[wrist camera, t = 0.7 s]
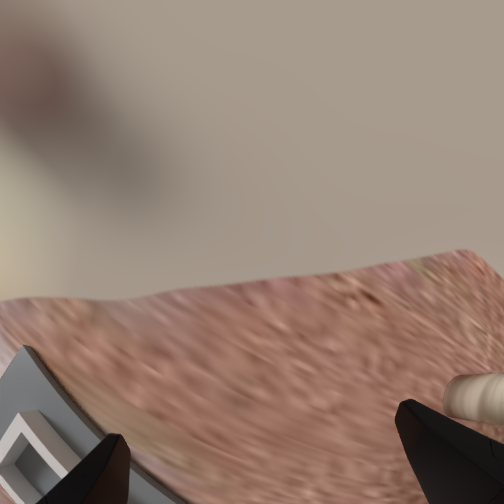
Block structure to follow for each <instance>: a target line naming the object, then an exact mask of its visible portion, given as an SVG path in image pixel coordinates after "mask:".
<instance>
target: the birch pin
mask: <svg viewBox="0 0 504 504" xmlns="http://www.w3.org/2000/svg"><path fill="white" fill-rule="evenodd" d="M443 408H444V411H445V413H446V414H447V415H448V416H449V417H451V418H457V419H463V420H469V421H476V422H483V423H491V424H500V425H504V373H494V374H475V375H459V376H456V377H455V378H453V379H452V380H451V381H450V383H449V384H448V386H447V388H446V390H445V392H444V396H443Z"/></svg>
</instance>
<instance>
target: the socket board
mask: <svg viewBox="0 0 504 504" xmlns="http://www.w3.org/2000/svg"><path fill="white" fill-rule="evenodd" d="M104 438H105V436H104V435H103V434H102V433H101V432H100V431H99V430H98V429H97V428H96V427H95V426H94V425H93V424H92V423H91V422H90V421H89V420H88V418H87V417H86V416H85V415H84V414H83V413H82V412H81V411H80V410H79V409H78V407H77V406H76V405H75V404H74V403H73V402H72V401H71V399H70V398H69V397H68V396H67V395H66V393H65V392H64V391H63V390H62V389H61V387H60V386H59V385H58V384H57V382H56V381H55V380H54V379H53V377H52V376H51V375H50V373H49V372H48V371H47V369H46V368H45V367H44V365H43V364H42V363H41V361H40V360H39V358H38V357H37V356H36V354H35V353H34V351H33V350H32V348H31V347H30V346H27V345H22V346H21V348H20V349H19V351H18V352H17V354H16V355H15V357H14V358H13V360H12V361H11V363H10V365H9V366H8V368H7V369H6V371H5V372H4V374H3V376H2V377H1V379H0V484H1V485H2V486H3V488H4V489H5V490H6V491H7V492H8V494H9V495H10V496H11V497H12V498H13V500H14V501H15V502H16V503H17V504H35V503H37V502H38V501H39V500H40V499H41V498H42V497H43V496H44V495H46V494H47V493H48V492H49V491H50V490H51V489H52V488H53V487H54V486H55V485H56V484H57V483H58V482H59V481H60V480H61V479H62V478H63V477H65V476H66V475H67V474H68V473H69V472H70V471H71V470H72V469H73V468H74V467H75V466H76V465H77V464H78V463H79V462H80V461H81V460H82V459H83V458H84V457H85V456H86V455H87V454H88V453H89V452H90V451H91V450H93V449H94V448H95V447H96V446H97V445H98V444H99V443H100V442H101V441H102V440H103V439H104ZM127 504H187V503H185V502H184V501H182V500H181V499H179V498H178V497H177V496H175V495H174V494H172V493H171V492H170V491H168V490H167V489H166V488H164V487H163V486H162V485H160V484H159V483H158V482H156V481H155V480H154V479H153V478H151V477H150V476H149V475H148V474H146V473H145V472H144V471H143V470H141V469H140V468H139V467H138V466H137V465H136V464H134V463H133V462H132V461H131V460H130V478H129V495H128V502H127Z"/></svg>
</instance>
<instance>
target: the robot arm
mask: <svg viewBox="0 0 504 504" xmlns="http://www.w3.org/2000/svg"><path fill="white" fill-rule="evenodd" d="M395 424H396V427H397V430H398V433H399V436H400V438H401V441H402V444H403V447H404V450H405V453H406V456H407V458H408V460H409V462H410V465H411V467H412V469H413V471H414V473H415V475H416V477H417V479H418V481H419V483H420V485H421V487H422V490H423V492H424V494H425V496H426V498H427V500H428V503H429V504H504V444H502V443H500V442H498V441H495V440H493V439H491V438H489V437H487V436H485V435H483V434H481V433H478V432H476V431H474V430H472V429H470V428H468V427H466V426H464V425H462V424H460V423H458V422H456V421H454V420H452V419H450V418H448V417H446V416H444V415H442V414H440V413H438V412H436V411H434V410H433V409H431V408H429V407H427V406H425V405H423V404H421V403H419V402H417V401H415V400H413V399H408V400H405V401H402V402H401V403H400V404H399V407H398V410H397V413H396V416H395ZM130 457H131V453H130V449H129V447H128V445H127V443H126V441H125V439H124V438H123V436H122V435H121V434H115V433H110V434H108V435H107V436H106V437H105V438H104V439H103V440H102V441H101V442H100V443H99V444H98V445H97V446H96V447H95V448H94V449H93V450H91V451H90V452H89V453H88V454H87V455H86V456H85V457H84V458H83V459H82V460H81V461H80V462H79V463H78V464H77V465H76V466H75V467H74V468H73V469H72V470H71V471H70V472H69V473H68V474H67V475H66V476H65V477H63V478H62V479H61V480H60V481H59V482H58V483H57V484H56V485H55V486H54V487H53V488H52V489H51V490H50V491H49V492H48V493H47V494H46V495H44V496H43V497H42V498H41V499H40V500H39V501H38V502H37V503H35V504H127V502H128V495H129V478H130Z"/></svg>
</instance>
